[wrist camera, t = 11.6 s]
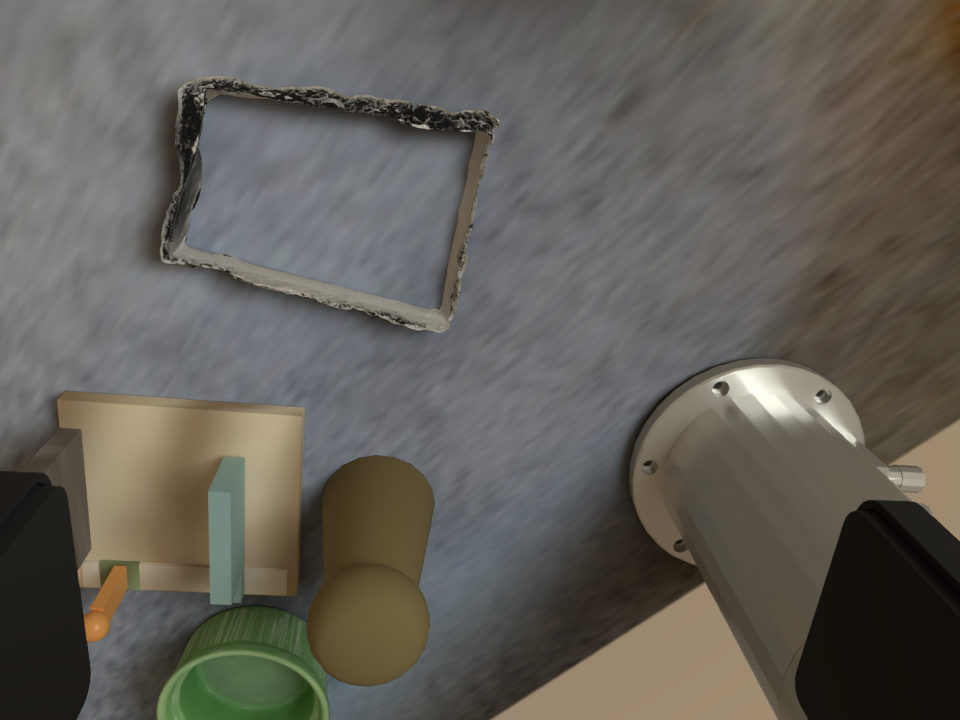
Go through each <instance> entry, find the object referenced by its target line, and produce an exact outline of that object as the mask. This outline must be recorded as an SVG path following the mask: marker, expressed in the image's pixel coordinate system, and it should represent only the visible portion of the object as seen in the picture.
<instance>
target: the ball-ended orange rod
mask: <svg viewBox="0 0 960 720" xmlns="http://www.w3.org/2000/svg"><path fill="white" fill-rule="evenodd" d="M127 589H128V583H127V568H126V566H114V567H113V569H112V570H111V572H110V574H109V576H108V577H107V579H106V581H105V583H104V584H103V586H102V588H101V590H100V591H99V593H98V595H97V597H96V598H95V600H94V602H93V604H92V605H91V607H90V608H91V612H89V613H87V614H85V615H84V623H85V631H86V638H87V641H88V642H95V641H99V640H101V639H102V638H104V637H105V636H106V634H107V633H108V631H109V629H110V621H111V619H112V617H113V615H114V613H115V612H116V610H117V608H118V606H119V604H120V602H121V600H122V598H123V596H124V594H125V593H126V591H127Z"/></svg>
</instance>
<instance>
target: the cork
mask: <svg viewBox="0 0 960 720" xmlns="http://www.w3.org/2000/svg"><path fill="white" fill-rule="evenodd" d="M434 504H435V502H434V497H433V492H432V488H431V486H430V484H429V483H428V481H427V479H426V478H425V476H424V475H423V474H422V473H421V472H420V471H419V470H417V469H416V468H415V467H414V466H413V465H411V464H409V463H407V462H405V461H402V460H400V459H397V458H395V457H388V456H379V455H375V456H369V457H362V458H358V459H356V460H354V461H351V462H349V463H347V464H345V465H343V466H342V467H341V468H340V469H339V470H338V471H336V472H335V473H334V474H333V475H332V476H331V477H330V479H329V481H328V483H327V485H326V487H325V489H324V490H323V497H322V506H321V507H322V537H323V567H324V584H322V586H321V588H320V589H319V591H318V593H317V594H316V596H315V598H314V600H313V602H312V604H311V605H310V609H309V613H308V620H307V629H306V633H307V639H308V643H309V646H310V649H311V653H312V655H313V656H314V658H315V659H316V660H317V662H318V663H319V664H320V665H321V667H322V668H323V669H324V671H325V672H326V673H328V674H329V675H331V676H332V677H334V678H335V679H337V680H339V681H342V682H345V683H348V684H351V685H358V686H374V685H380V684H385V683H388V682H390V681H392V680H394V679H397V678H399V677H400V676H402V675H403V674H404V673H405V672H406V671H408V670H409V669H410V668H411V667H412V666H413V665H414V664H415V663H416V662H417V660H418V659H419V657H420V655H421V654H422V652H423V651H424V648H425V645H426V642H427V638H428V633H429V627H430V622H429V613H428V608H427V604H426V600H425V598H424V596H423V593H422V592H421V590H420V589H419V583H420V578H421V572H422V567H423V562H424V557H425V552H426V547H427V541H428V536H429V531H430V526H431V521H432V515H433V510H434Z"/></svg>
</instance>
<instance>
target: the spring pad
mask: <svg viewBox="0 0 960 720" xmlns="http://www.w3.org/2000/svg"><path fill="white" fill-rule="evenodd" d="M208 510H209V563H210V604H219V605H232V603H241V602H242V599H243V596H244V565H245V458H239V457H224V458H223V460H222V462H221V465H220V467H219V469H218V471H217V473H216V475H215V478H214V480H213V482H212V484H211V486H210V489H209V491H208Z"/></svg>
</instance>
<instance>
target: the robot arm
mask: <svg viewBox="0 0 960 720" xmlns="http://www.w3.org/2000/svg"><path fill="white" fill-rule="evenodd" d="M717 382H718V384H717V385H715V384H716V383H717ZM714 385H715V386H714ZM646 461H647V462H646ZM925 481H926V479H925V475H924V472H923V470H922V469H921V468H919V467H917V466H904V465H893V466H886V465H885V464H884V463H882V462H881V461H880V460H879V459H878V458H877V457H876V456H875V455H874V454H873V453H872V452H870V451H869V450H868V449H867V448H866V447H865V445H864V434H863V430H862V426H861V422H860V419H859V417H858V415H857V413H856V411H855V409H854V407H853V406H852V404H851V402H850V401H849V400H848V399H847V398H846V396H845V395H844V394H843V393H842V392H841V391H840V390H839V389H838V388H837V387H836V386H835V385H834V384H832V383H831V382H830V381H829V380H827V379H826V378H825V377H824V376H822V375H821V374H819V373H817V372H815V371H813V370H811V369H809V368H808V367H806V366H804V365H800V364H796V363H793V362H789V361H786V360H779V359H767V358H757V359H747V360H738V361H735V362H731V363H727V364H724V365H720V366H717V367H714V368H712V369H710V370H708V371H705V372H703V373H701V374H699V375H697V376H695V377H693V378H692V379H690V380H689V381H687V382H686V383H684V384H683V385H681V386H680V387H678V388H677V389H675V390H674V391H673V392H672V393H671V394H670V395H669V396H668V397H667V398H666V399H665V400H664V401H663V402H662V403H661V404H660V405H658V407H657V408H656V409H655V411H654V412H653V413H652V415H651V416H650V417H649V419H648V420H647V421H646V423H645V424H644V426H643V428H642V430H641V432H640V434H639V436H638V438H637V440H636V443H635V446H634V449H633V453H632V457H631V460H630V469H629V486H630V492H631V498H632V502H633V504H634V507H635V509H636V512H637V514H638V517H639V519H640V521H641V522H642V524H643V526H644V528H645V529H646V531H647V533H648V534H649V535H650V536H651V537H652V538H653V540H654V541H655V542H656V543H657V544H658V545H659V546H660V547H661V548H663V549H664V550H665V551H667V552H668V553H669V554H671V555H672V556H674V557H676V558H678V559H680V560H683V561H685V562H687V563H690V564H692V565H696V566H697V567H698V569H699V571H700V573H701V575H702V577H703V579H704V581H705V582H706V584H707V586H708V588H709V590H710V592H711V594H712V596H713V598H714V599H715V601H716V603H717V605H718V607H719V609H720V611H721V613H722V615H723V617H724V618H725V620H726V622H727V624H728V626H729V628H730V630H731V632H732V634H733V635H734V637H735V639H736V641H737V643H738V645H739V647H740V649H741V651H742V652H743V654H744V656H745V658H746V660H747V662H748V664H749V666H750V668H751V669H752V671H753V673H754V675H755V677H756V679H757V681H758V683H759V685H760V687H761V688H762V690H763V692H764V694H765V696H766V698H767V700H768V702H769V704H770V706H771V707H772V709H773V711H774V713H775V715H776V717H777V719H778V720H960V541H959V540H958V539H957V538H956V537H954V536H953V535H952V534H951V533H950V532H949V531H948V530H947V529H946V528H945V527H944V526H943V525H942V524H940V523H939V522H938V521H937V520H936V519H935V518H934V517H933V513H932V511H931V510H930V508H929V507H928V506H926V505H924V504H921V503H916V502H913V501H912V500H911V499H910V498H909V497H908V496H907V495H906V494H905V493H904V492H908V493H918V492H921V491H922V490H923V488H924V486H925ZM90 676H91V671H90V661H89V653H88V646H87V638H86V631H85V623H84V616H83V608H82V600H81V593H80V585H79V578H78V570H77V563H76V555H75V548H74V540H73V533H72V525H71V518H70V510H69V503H68V497H67V493H66V491H65V489H64V488H63V487H61V486H52V484H51V481H50V479H49V477H48V475H46V474H44V473H39V472H9V471H0V720H77V718H78V716H79V713H80V711H81V709H82V707H83V705H84V703H85V700H86V697H87V694H88V690H89V685H90Z"/></svg>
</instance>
